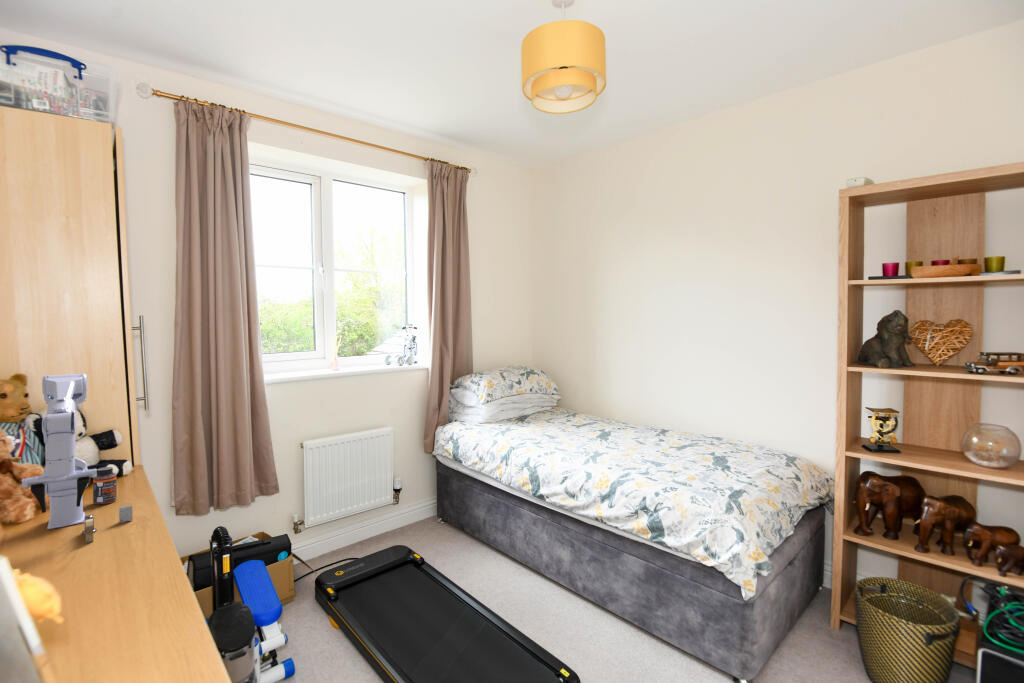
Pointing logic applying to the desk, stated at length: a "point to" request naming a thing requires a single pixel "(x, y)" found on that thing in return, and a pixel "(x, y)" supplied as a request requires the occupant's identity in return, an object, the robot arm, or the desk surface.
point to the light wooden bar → (89, 530)
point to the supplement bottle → (104, 486)
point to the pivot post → (85, 523)
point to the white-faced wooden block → (125, 513)
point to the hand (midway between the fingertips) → (61, 508)
